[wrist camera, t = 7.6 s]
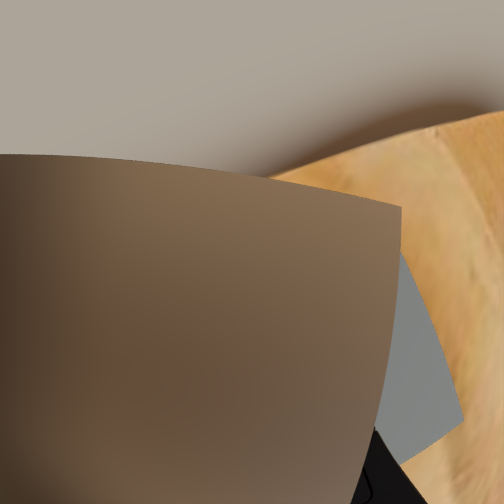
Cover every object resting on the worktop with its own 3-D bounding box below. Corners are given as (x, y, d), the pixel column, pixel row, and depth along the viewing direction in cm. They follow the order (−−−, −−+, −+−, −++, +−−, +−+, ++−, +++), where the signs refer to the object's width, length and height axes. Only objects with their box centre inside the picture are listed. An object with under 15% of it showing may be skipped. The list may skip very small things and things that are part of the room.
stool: (265, 418, 14) (287, 627, 1) (163, 394, 14) (-52, 478, 2) (286, 318, 15) (401, 206, 3) (184, 297, 16) (-3, 154, 3)
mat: (457, 418, 19) (464, 420, 18) (280, 512, 17) (281, 518, 16) (391, 246, 23) (396, 242, 22) (196, 329, 21) (193, 328, 20)
